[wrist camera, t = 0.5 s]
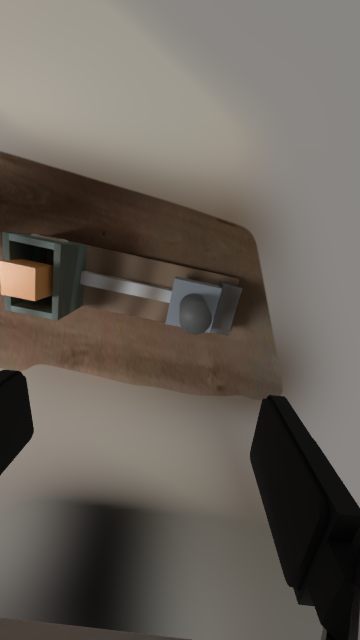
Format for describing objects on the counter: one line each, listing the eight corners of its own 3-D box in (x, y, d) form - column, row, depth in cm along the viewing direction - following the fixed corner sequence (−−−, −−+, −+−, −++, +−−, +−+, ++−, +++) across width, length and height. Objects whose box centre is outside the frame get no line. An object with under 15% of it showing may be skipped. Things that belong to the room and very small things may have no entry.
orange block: (23, 288, 30) (1, 294, 26) (23, 258, 29) (-1, 260, 25) (53, 294, 30) (35, 301, 26) (54, 265, 29) (35, 268, 25)
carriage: (166, 316, 37) (162, 339, 28) (175, 275, 35) (173, 285, 25) (206, 324, 38) (215, 350, 28) (217, 284, 35) (231, 297, 26)
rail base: (46, 295, 38) (4, 309, 29) (47, 233, 35) (1, 228, 26) (221, 331, 41) (233, 355, 31) (237, 275, 37) (256, 284, 28)
